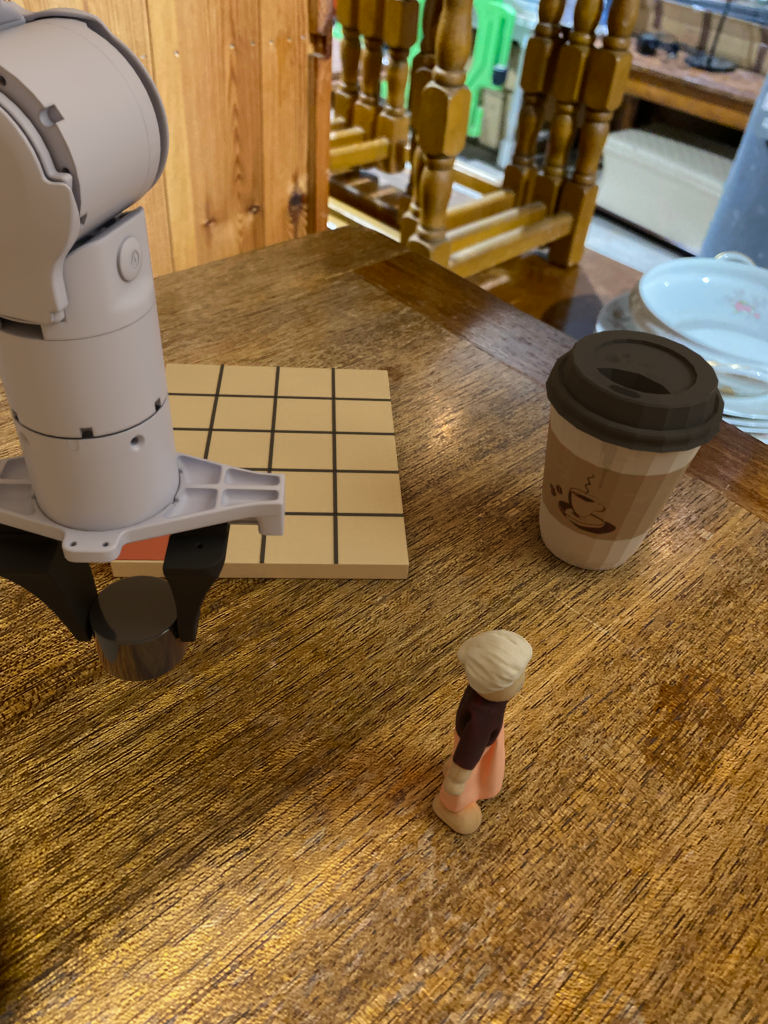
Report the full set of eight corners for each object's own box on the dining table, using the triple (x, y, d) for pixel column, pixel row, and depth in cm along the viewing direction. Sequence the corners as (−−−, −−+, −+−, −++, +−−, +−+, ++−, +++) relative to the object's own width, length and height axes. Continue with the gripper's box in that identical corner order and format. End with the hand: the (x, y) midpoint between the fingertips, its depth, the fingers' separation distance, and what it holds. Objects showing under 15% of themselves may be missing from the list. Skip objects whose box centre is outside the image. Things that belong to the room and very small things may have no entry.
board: (113, 577, 53) (109, 560, 52) (168, 377, 71) (166, 362, 70) (407, 579, 54) (409, 563, 53) (386, 383, 73) (387, 369, 72)
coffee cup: (486, 549, 57) (524, 373, 47) (546, 471, 65) (590, 305, 55) (634, 617, 53) (711, 441, 43) (680, 526, 61) (754, 357, 51)
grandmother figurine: (495, 859, 40) (547, 720, 32) (421, 845, 40) (454, 703, 32) (502, 731, 46) (548, 584, 37) (438, 719, 46) (469, 571, 38)
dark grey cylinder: (89, 682, 38) (78, 643, 36) (108, 613, 41) (99, 574, 39) (181, 682, 38) (175, 644, 36) (193, 614, 42) (188, 575, 40)
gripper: (-161, 454, 26) (-43, 693, 35) (277, 466, 27) (282, 693, 36) (-79, 346, 31) (6, 578, 40) (286, 360, 32) (288, 582, 42)
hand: (139, 625), depth 39 cm, fingers closed on dark grey cylinder, 4 cm apart
